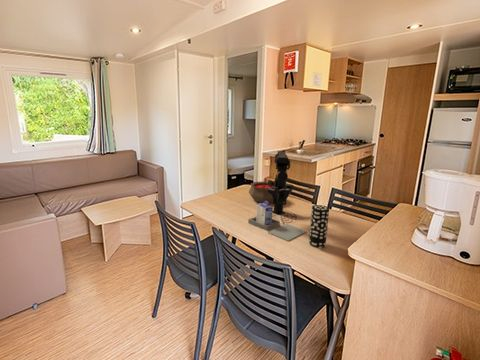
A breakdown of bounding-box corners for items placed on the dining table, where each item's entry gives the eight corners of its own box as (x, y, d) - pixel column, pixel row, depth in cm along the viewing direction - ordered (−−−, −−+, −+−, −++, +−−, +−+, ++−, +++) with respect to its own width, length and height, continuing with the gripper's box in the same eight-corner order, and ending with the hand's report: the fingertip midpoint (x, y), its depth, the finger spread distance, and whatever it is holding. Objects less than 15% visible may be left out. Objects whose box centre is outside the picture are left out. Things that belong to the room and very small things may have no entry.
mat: (286, 224, 163) (287, 223, 163) (306, 232, 153) (306, 231, 153) (267, 233, 151) (267, 232, 151) (288, 241, 141) (288, 240, 141)
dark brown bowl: (249, 196, 221) (250, 177, 217) (279, 198, 217) (280, 178, 214) (246, 205, 197) (247, 184, 194) (279, 207, 194) (280, 185, 191)
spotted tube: (306, 240, 143) (309, 205, 138) (321, 240, 143) (325, 204, 139) (312, 248, 135) (315, 210, 130) (328, 247, 135) (332, 210, 131)
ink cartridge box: (272, 226, 161) (273, 203, 157) (264, 227, 158) (265, 204, 155) (263, 220, 169) (264, 198, 166) (255, 222, 167) (256, 200, 163)
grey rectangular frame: (261, 218, 173) (261, 214, 172) (279, 225, 162) (279, 221, 162) (248, 223, 165) (248, 219, 164) (266, 230, 154) (266, 226, 154)
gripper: (280, 173, 173) (279, 196, 176) (261, 177, 160) (260, 202, 164) (294, 176, 165) (293, 200, 169) (275, 180, 152) (274, 206, 156)
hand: (280, 202), depth 164 cm, fingers open, 9 cm apart
